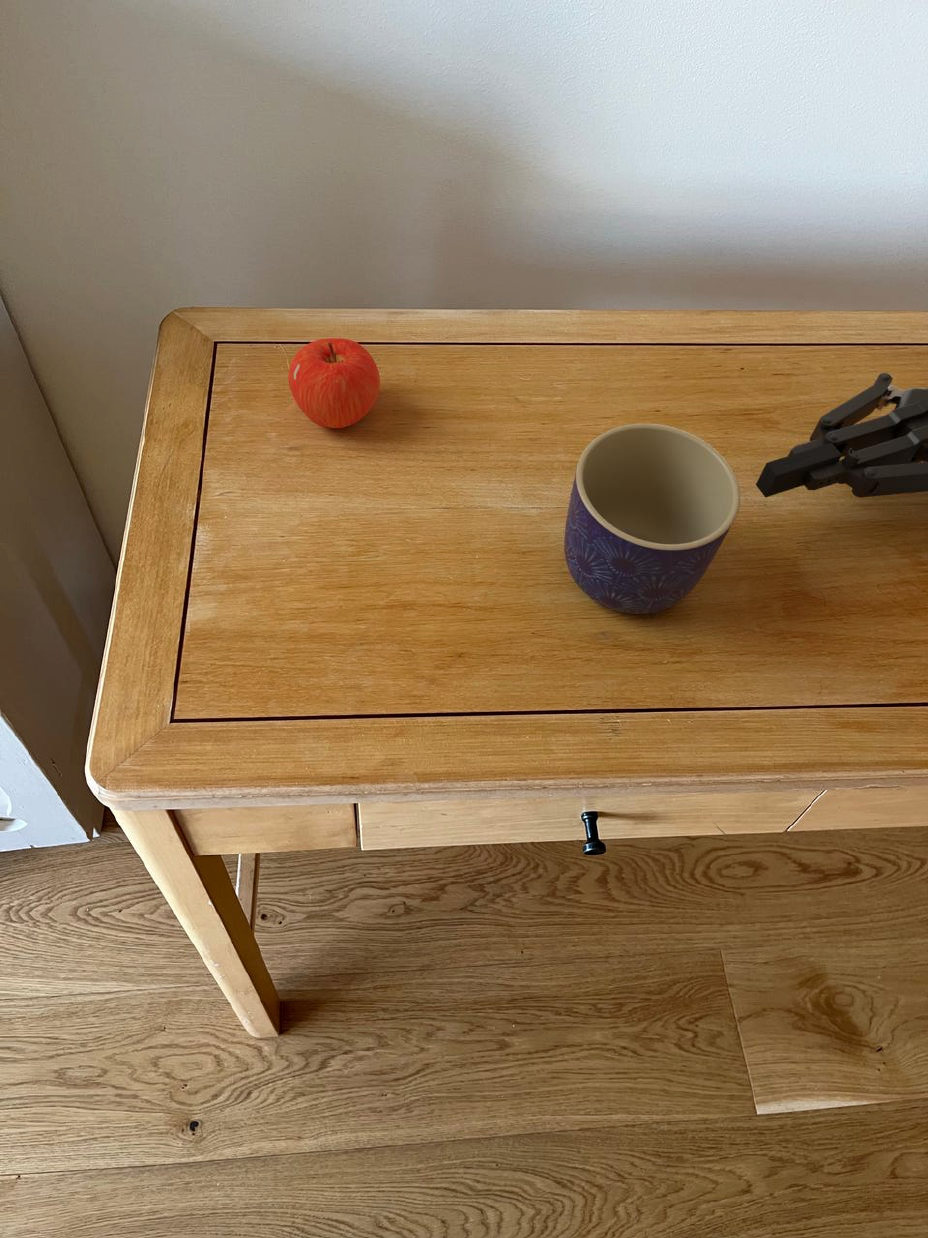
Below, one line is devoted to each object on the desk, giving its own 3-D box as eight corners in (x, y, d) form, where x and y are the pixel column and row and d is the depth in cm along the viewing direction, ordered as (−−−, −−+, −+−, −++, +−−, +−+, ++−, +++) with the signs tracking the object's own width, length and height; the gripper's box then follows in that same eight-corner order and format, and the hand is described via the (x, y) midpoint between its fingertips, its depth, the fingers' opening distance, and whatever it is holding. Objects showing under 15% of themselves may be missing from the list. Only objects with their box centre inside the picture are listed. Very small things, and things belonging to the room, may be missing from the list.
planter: (529, 589, 76) (548, 504, 67) (589, 490, 83) (614, 400, 74) (668, 654, 74) (708, 575, 65) (719, 547, 80) (762, 461, 71)
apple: (306, 452, 83) (299, 385, 76) (283, 391, 87) (274, 321, 80) (391, 433, 85) (392, 365, 78) (364, 373, 89) (362, 305, 82)
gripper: (1011, 491, 82) (794, 567, 76) (919, 393, 89) (711, 455, 82) (1063, 431, 76) (830, 509, 70) (960, 330, 82) (737, 392, 76)
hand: (766, 480), depth 76 cm, fingers closed
